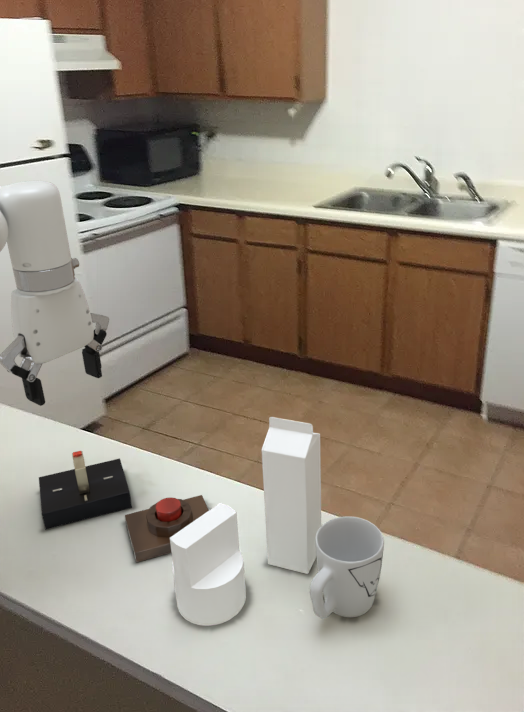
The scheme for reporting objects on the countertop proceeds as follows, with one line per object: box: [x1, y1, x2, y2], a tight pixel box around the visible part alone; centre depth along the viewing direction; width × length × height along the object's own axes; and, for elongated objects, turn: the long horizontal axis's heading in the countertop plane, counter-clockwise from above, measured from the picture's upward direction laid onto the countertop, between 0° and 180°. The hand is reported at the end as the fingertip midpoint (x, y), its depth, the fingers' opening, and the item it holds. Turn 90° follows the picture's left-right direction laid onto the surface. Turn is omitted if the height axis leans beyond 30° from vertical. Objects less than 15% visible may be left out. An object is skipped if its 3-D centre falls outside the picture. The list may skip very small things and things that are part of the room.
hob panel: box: [38, 458, 133, 531], centre depth 106 cm, size 13×10×3 cm
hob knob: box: [71, 450, 90, 494], centre depth 105 cm, size 5×2×5 cm, turn 21°
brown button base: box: [124, 494, 210, 563], centre depth 99 cm, size 12×9×4 cm
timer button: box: [155, 497, 182, 522], centre depth 98 cm, size 4×4×2 cm
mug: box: [309, 515, 385, 620], centre depth 83 cm, size 11×8×10 cm
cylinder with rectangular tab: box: [170, 502, 247, 627], centre depth 85 cm, size 9×9×12 cm
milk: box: [261, 416, 322, 575], centre depth 89 cm, size 6×6×22 cm
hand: (66, 388), depth 96 cm, fingers open, 9 cm apart
